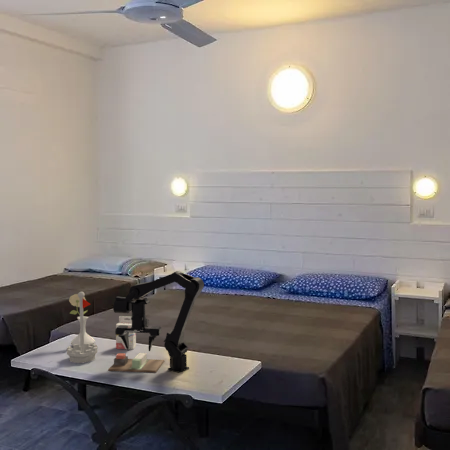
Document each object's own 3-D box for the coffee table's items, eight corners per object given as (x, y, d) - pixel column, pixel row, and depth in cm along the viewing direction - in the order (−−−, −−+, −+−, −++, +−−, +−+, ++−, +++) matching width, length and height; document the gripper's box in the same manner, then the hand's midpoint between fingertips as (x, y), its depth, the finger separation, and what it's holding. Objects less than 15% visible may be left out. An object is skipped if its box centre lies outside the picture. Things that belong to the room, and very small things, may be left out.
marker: (139, 360, 243) (139, 352, 243) (146, 360, 242) (146, 353, 242) (132, 368, 232) (132, 360, 232) (139, 368, 231) (139, 360, 231)
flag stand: (60, 361, 245) (59, 292, 244) (81, 353, 257) (79, 288, 255) (83, 365, 239) (82, 295, 238) (103, 357, 251) (102, 290, 249)
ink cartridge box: (115, 349, 264) (115, 318, 263) (118, 346, 269) (118, 315, 268) (133, 349, 263) (133, 318, 262) (136, 346, 268) (135, 316, 267)
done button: (125, 359, 239) (125, 353, 239) (123, 361, 236) (123, 355, 236) (118, 358, 240) (118, 353, 240) (116, 360, 237) (116, 355, 237)
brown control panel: (164, 361, 244) (164, 353, 243) (156, 372, 229) (155, 364, 228) (119, 360, 246) (119, 352, 246) (108, 370, 231) (108, 362, 231)
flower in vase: (99, 343, 273) (99, 292, 272) (87, 350, 263) (86, 296, 261) (76, 341, 277) (75, 291, 276) (63, 347, 267) (61, 295, 265)
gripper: (164, 310, 243) (165, 346, 244) (122, 309, 245) (123, 345, 246) (158, 316, 232) (158, 353, 233) (114, 315, 234) (115, 352, 235)
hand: (138, 350), depth 237 cm, fingers open, 9 cm apart
